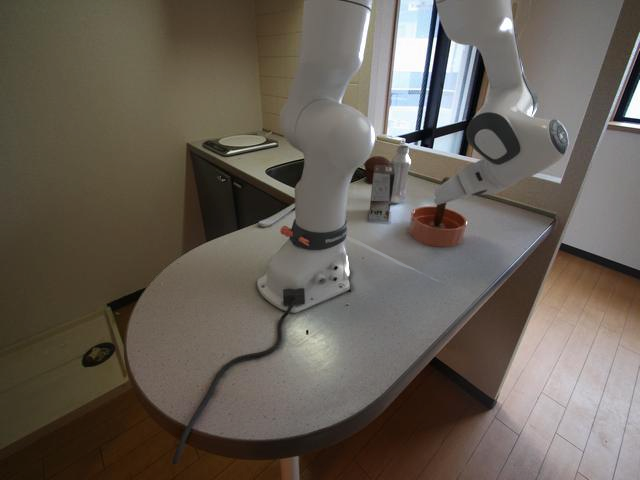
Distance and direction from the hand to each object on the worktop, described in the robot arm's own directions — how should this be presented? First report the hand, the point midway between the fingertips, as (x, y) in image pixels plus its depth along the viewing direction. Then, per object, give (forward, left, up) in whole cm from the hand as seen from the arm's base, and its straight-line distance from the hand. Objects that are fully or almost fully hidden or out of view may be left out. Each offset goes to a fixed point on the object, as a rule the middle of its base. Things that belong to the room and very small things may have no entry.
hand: (449, 199), depth 86 cm
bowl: (+1, +2, -12) cm, 13 cm away
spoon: (-17, +44, -13) cm, 49 cm away
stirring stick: (+1, +2, -12) cm, 12 cm away
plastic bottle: (+13, +24, -13) cm, 30 cm away
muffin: (+26, +42, -13) cm, 51 cm away
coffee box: (-1, +21, -13) cm, 25 cm away
